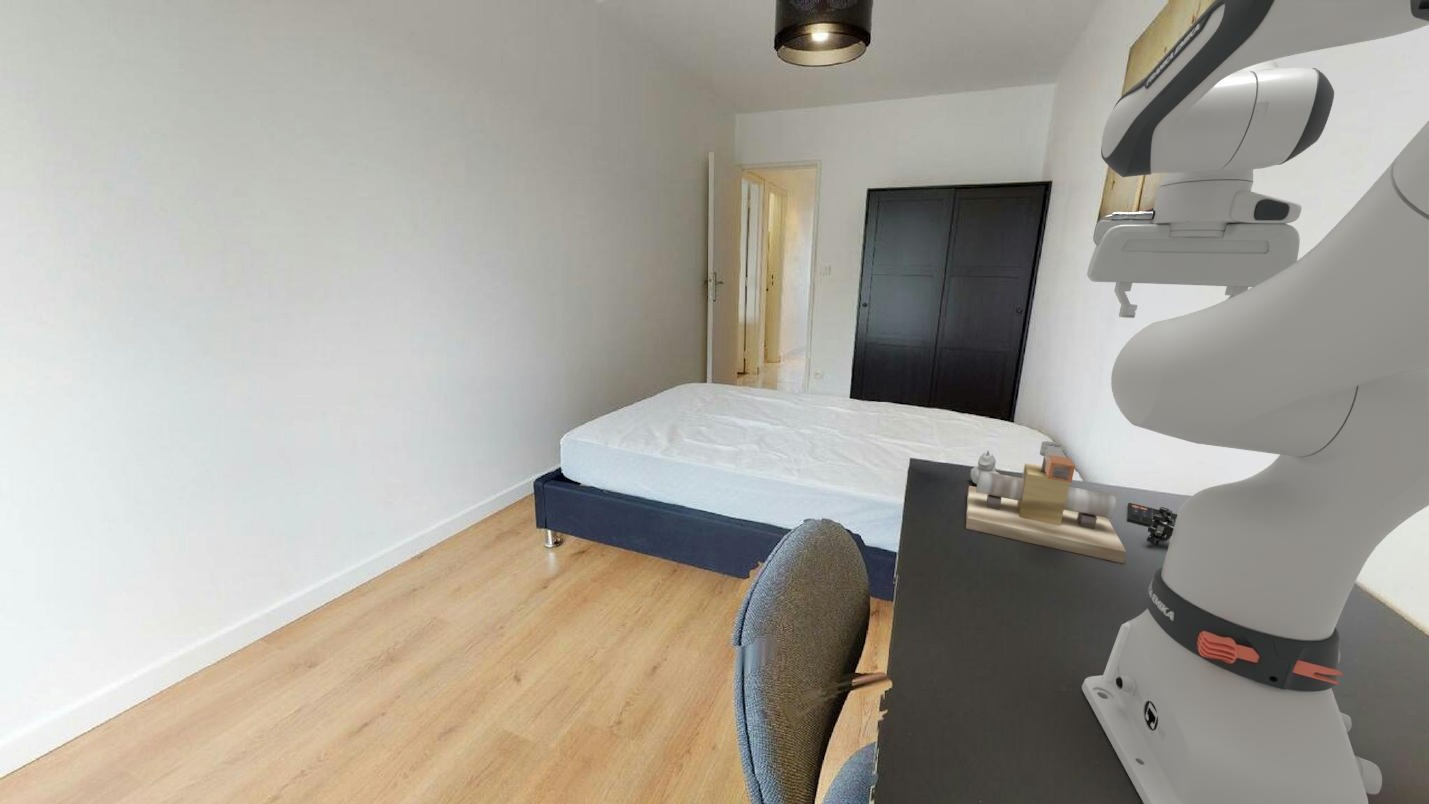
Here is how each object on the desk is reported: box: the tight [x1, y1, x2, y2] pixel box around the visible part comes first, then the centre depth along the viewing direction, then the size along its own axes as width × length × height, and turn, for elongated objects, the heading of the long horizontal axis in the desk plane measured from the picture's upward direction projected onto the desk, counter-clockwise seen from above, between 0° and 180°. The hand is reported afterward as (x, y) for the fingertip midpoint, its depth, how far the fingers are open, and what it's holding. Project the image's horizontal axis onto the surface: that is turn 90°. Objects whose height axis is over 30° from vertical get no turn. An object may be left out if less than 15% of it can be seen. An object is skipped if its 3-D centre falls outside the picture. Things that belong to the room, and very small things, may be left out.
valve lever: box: [1039, 440, 1076, 484], centre depth 83 cm, size 14×3×3 cm, turn 154°
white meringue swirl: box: [970, 450, 1000, 485], centre depth 107 cm, size 5×7×8 cm
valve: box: [1146, 506, 1175, 546], centre depth 81 cm, size 7×7×12 cm
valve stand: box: [965, 457, 1127, 564], centre depth 89 cm, size 16×22×13 cm
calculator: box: [1126, 502, 1178, 528], centre depth 93 cm, size 9×12×3 cm
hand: (1169, 320), depth 69 cm, fingers open, 8 cm apart
